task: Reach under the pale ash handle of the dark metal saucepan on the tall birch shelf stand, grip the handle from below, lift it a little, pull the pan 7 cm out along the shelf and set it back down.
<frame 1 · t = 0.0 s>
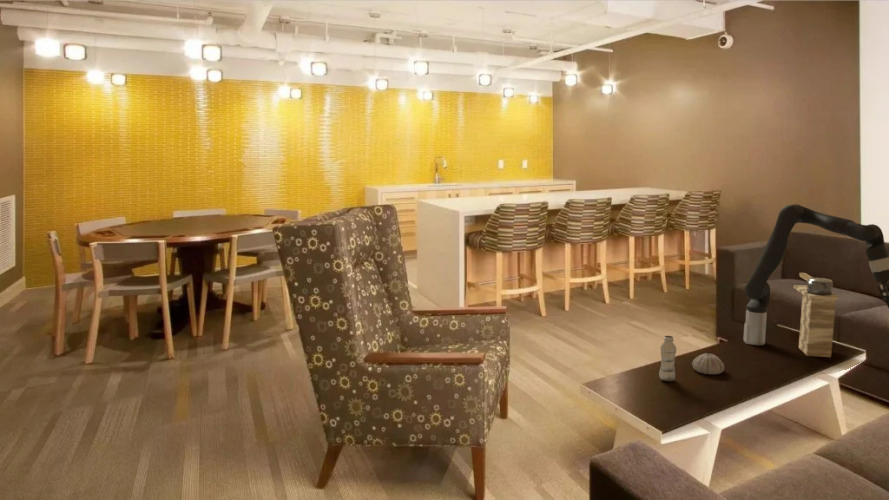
saucepan: (819, 293, 262), point 30 cm above the table, touching stand
sea urchin shell: (707, 371, 249), on the table
stand: (814, 352, 267), on the table
plastic bottle: (667, 380, 240), on the table
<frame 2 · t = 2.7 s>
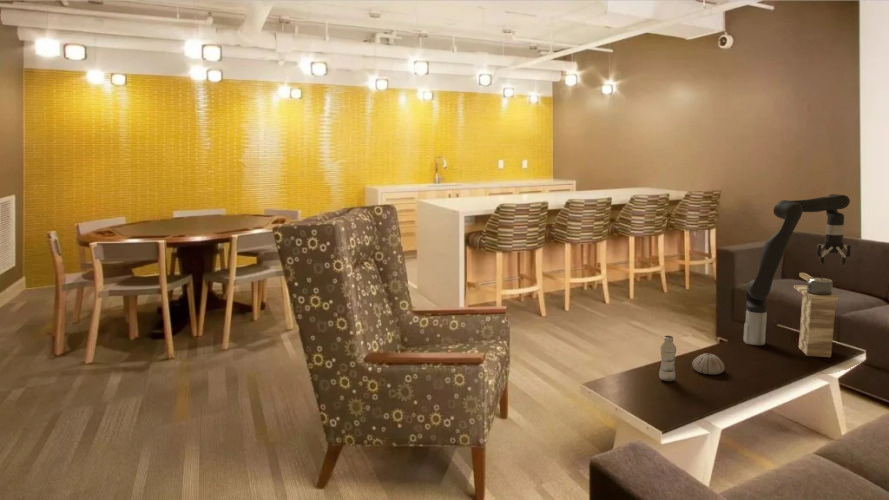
hand: (832, 264, 281), 39 cm above the table, tool pointing down, fingers open, 8 cm apart
nothing on the table moved.
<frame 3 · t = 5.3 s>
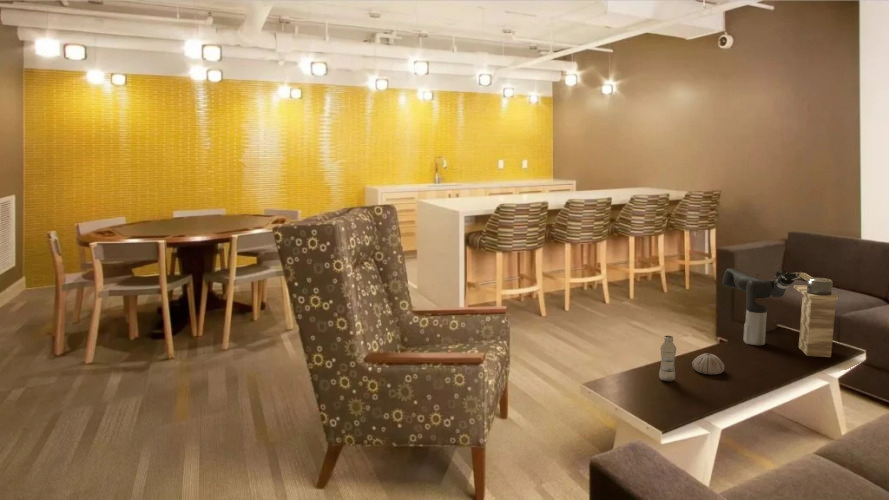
hand: (794, 271, 296), 33 cm above the table, tool pointing upward, fingers open, 8 cm apart
nothing on the table moved.
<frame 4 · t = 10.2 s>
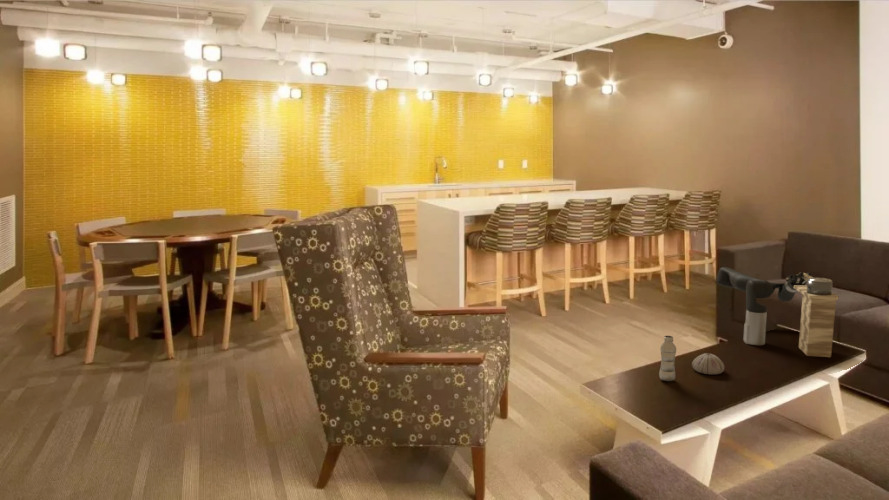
hand: (806, 274, 279), 35 cm above the table, tool pointing upward, fingers closed on saucepan, 2 cm apart
saucepan: (819, 292, 262), point 30 cm above the table, touching gripper, stand
everything else where it was.
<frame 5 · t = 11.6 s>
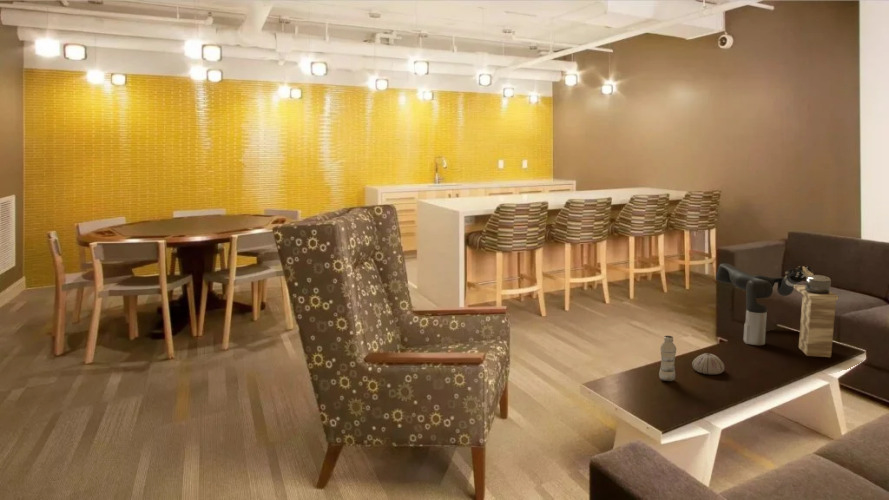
hand: (805, 267, 280), 38 cm above the table, tool pointing upward, fingers closed on saucepan, 2 cm apart
saucepan: (817, 290, 265), point 31 cm above the table, tilted 6°, touching gripper
everything else where it was.
when the fingers open (36 cm above the table, at t = 13.4 s): saucepan stays where it is, resting on stand.
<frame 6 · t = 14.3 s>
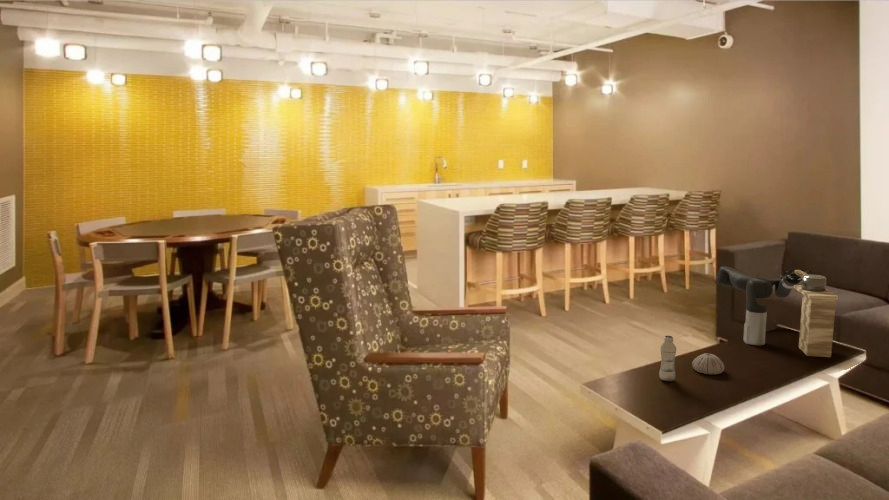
hand: (800, 270, 286), 35 cm above the table, tool pointing upward, fingers open, 8 cm apart
saucepan: (813, 289, 269), point 30 cm above the table, touching stand
everything else where it was.
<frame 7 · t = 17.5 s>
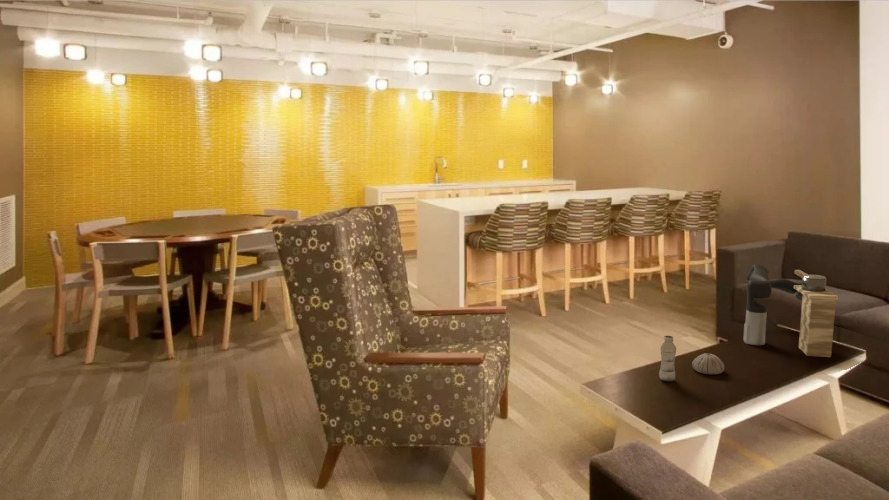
hand: (819, 299, 287), 20 cm above the table, tool horizontal, fingers open, 8 cm apart
nothing on the table moved.
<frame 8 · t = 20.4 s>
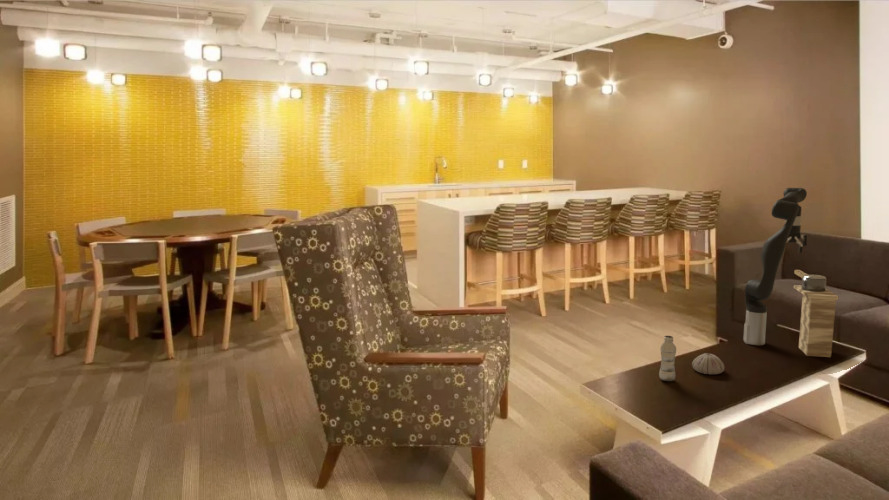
hand: (790, 253, 302), 42 cm above the table, tool pointing down, fingers open, 8 cm apart
nothing on the table moved.
at the end: saucepan moved 7.5 cm from its start; saucepan touching stand; the gripper is holding nothing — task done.
